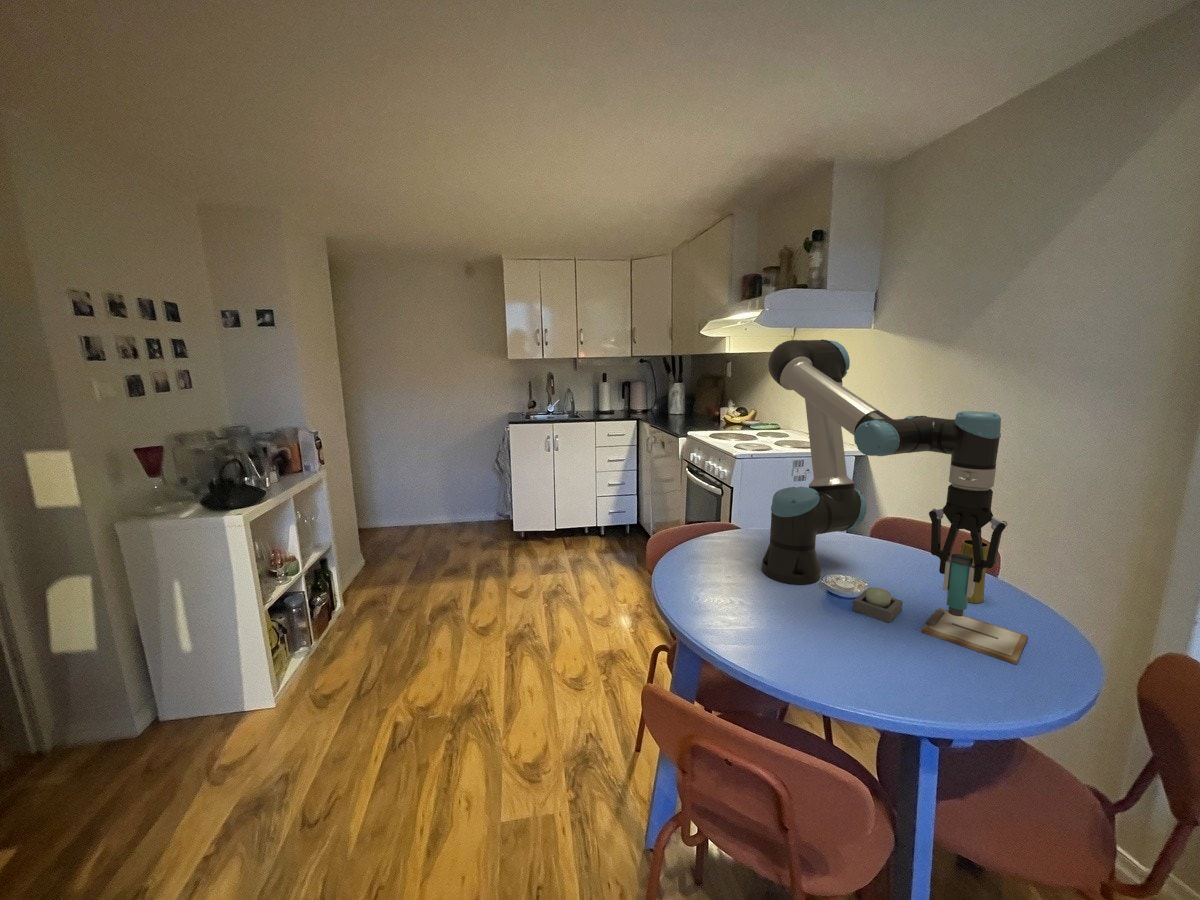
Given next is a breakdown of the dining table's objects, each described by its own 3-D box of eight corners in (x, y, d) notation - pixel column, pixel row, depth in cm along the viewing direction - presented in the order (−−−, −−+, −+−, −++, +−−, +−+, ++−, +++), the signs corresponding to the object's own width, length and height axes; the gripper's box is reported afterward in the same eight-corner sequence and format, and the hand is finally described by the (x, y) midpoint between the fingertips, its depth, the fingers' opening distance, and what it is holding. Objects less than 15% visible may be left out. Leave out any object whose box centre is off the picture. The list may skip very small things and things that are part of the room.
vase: (989, 604, 119) (997, 548, 116) (960, 602, 120) (967, 546, 118) (975, 592, 125) (983, 539, 122) (948, 590, 126) (955, 537, 124)
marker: (943, 613, 108) (949, 556, 106) (947, 607, 110) (954, 552, 108) (963, 619, 105) (970, 561, 103) (968, 613, 108) (974, 556, 106)
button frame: (852, 610, 117) (853, 600, 117) (865, 598, 122) (866, 589, 122) (889, 623, 111) (890, 612, 111) (901, 610, 117) (902, 600, 116)
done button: (862, 603, 117) (863, 592, 116) (870, 596, 120) (871, 585, 120) (885, 610, 113) (886, 599, 113) (893, 603, 116) (894, 592, 116)
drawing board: (921, 632, 108) (922, 626, 107) (938, 611, 116) (939, 605, 116) (1016, 664, 96) (1017, 658, 96) (1027, 639, 105) (1028, 632, 104)
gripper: (919, 482, 107) (909, 584, 111) (1018, 497, 95) (1003, 611, 99) (929, 477, 112) (919, 575, 116) (1025, 489, 99) (1010, 598, 104)
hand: (958, 591), depth 107 cm, fingers closed on marker, 3 cm apart
